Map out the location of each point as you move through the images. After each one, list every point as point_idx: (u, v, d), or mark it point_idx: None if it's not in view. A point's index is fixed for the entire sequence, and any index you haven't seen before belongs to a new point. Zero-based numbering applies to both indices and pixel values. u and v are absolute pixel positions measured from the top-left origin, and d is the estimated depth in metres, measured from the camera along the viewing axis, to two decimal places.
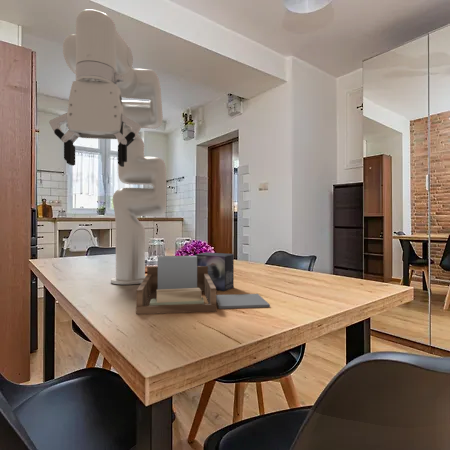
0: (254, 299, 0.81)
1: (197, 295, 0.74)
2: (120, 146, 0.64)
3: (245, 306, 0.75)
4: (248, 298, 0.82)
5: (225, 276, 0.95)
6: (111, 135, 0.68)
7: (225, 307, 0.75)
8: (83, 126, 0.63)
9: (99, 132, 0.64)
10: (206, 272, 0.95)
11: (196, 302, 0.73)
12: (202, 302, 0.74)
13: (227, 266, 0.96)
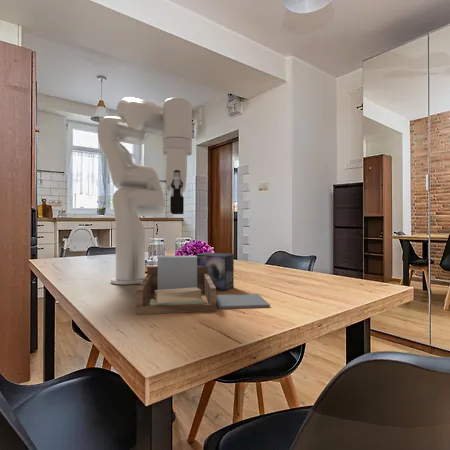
0: (254, 299, 0.81)
1: (197, 294, 0.75)
2: None
3: (245, 306, 0.75)
4: (248, 298, 0.82)
5: (225, 276, 0.95)
6: (169, 189, 0.87)
7: (225, 307, 0.75)
8: (185, 186, 0.83)
9: (184, 190, 0.86)
10: (206, 272, 0.95)
11: (196, 302, 0.74)
12: (202, 301, 0.74)
13: (227, 266, 0.96)
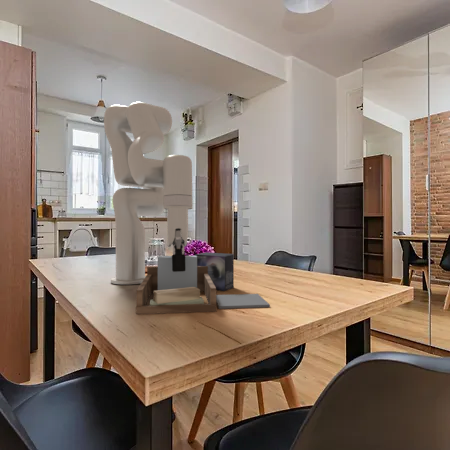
0: (254, 299, 0.81)
1: (196, 294, 0.75)
2: (184, 254, 0.90)
3: (245, 306, 0.75)
4: (248, 298, 0.82)
5: (225, 276, 0.95)
6: None
7: (225, 307, 0.75)
8: None
9: None
10: (206, 272, 0.95)
11: (196, 301, 0.74)
12: (202, 301, 0.74)
13: (227, 266, 0.96)
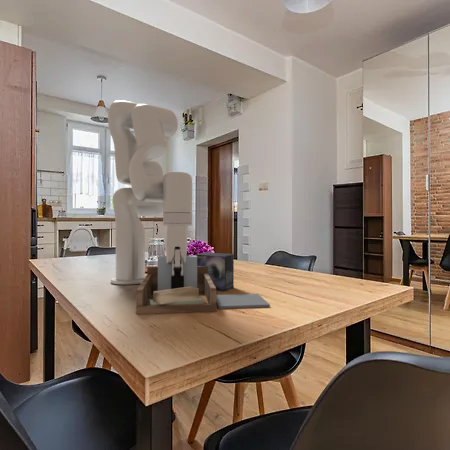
0: (254, 299, 0.81)
1: (195, 293, 0.76)
2: None
3: (245, 306, 0.75)
4: (248, 298, 0.82)
5: (225, 276, 0.95)
6: None
7: (225, 307, 0.75)
8: None
9: None
10: (206, 272, 0.95)
11: (196, 301, 0.75)
12: (202, 301, 0.75)
13: (227, 266, 0.96)
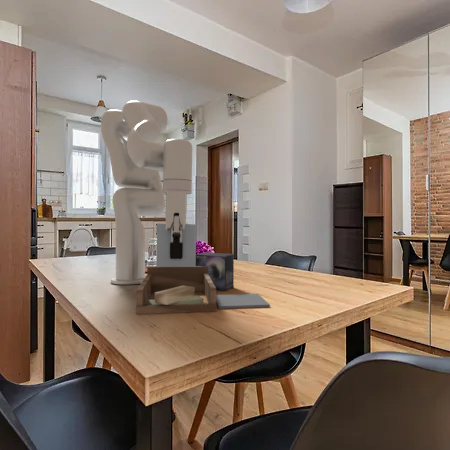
0: (254, 299, 0.81)
1: (192, 292, 0.78)
2: None
3: (245, 306, 0.75)
4: (248, 298, 0.82)
5: (225, 276, 0.95)
6: None
7: (225, 307, 0.75)
8: None
9: None
10: (206, 272, 0.95)
11: (196, 300, 0.76)
12: (202, 300, 0.76)
13: (227, 266, 0.96)
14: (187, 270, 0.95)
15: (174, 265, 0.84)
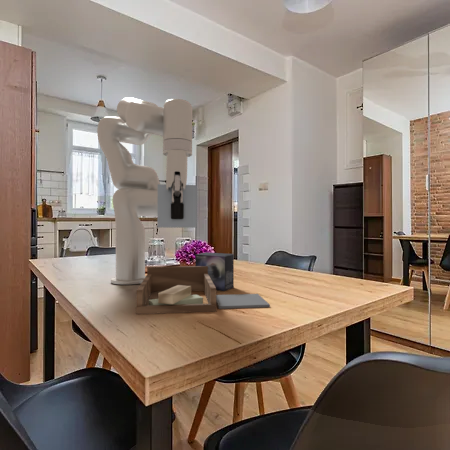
0: (254, 299, 0.81)
1: (189, 290, 0.79)
2: None
3: (245, 306, 0.75)
4: (248, 298, 0.82)
5: (225, 276, 0.95)
6: None
7: (225, 307, 0.75)
8: None
9: None
10: (206, 272, 0.95)
11: (196, 299, 0.77)
12: (201, 298, 0.77)
13: (227, 266, 0.96)
14: (187, 270, 0.95)
15: (175, 226, 0.83)
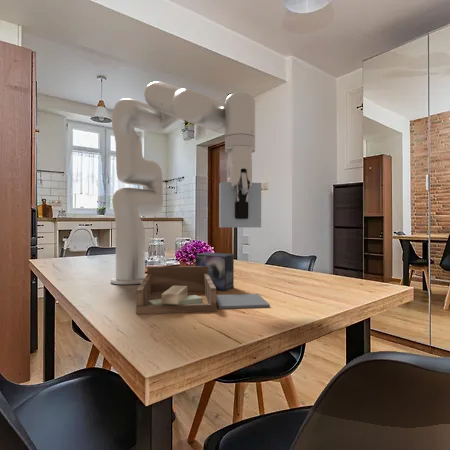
0: (254, 299, 0.81)
1: (186, 290, 0.80)
2: None
3: (245, 306, 0.75)
4: (248, 298, 0.82)
5: (225, 276, 0.95)
6: None
7: (225, 307, 0.75)
8: (249, 185, 0.80)
9: None
10: (206, 272, 0.95)
11: (196, 299, 0.77)
12: (201, 299, 0.78)
13: (227, 266, 0.96)
14: (187, 270, 0.95)
15: (239, 225, 0.79)
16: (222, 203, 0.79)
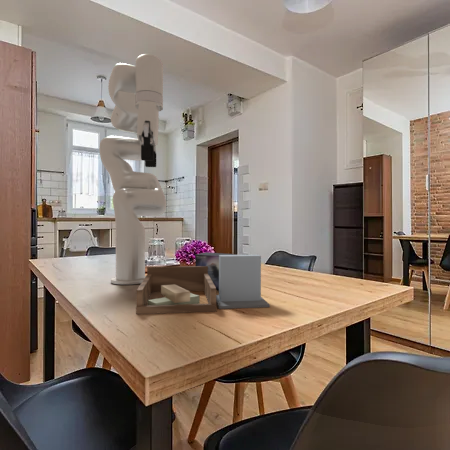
0: None
1: None
2: None
3: (245, 306, 0.75)
4: None
5: None
6: (142, 142, 0.93)
7: (225, 307, 0.75)
8: (156, 137, 0.89)
9: (155, 143, 0.92)
10: (206, 272, 0.95)
11: (194, 297, 0.79)
12: (198, 297, 0.79)
13: None
14: (187, 270, 0.95)
15: (239, 299, 0.79)
16: (222, 277, 0.79)
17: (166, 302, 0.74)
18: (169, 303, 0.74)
